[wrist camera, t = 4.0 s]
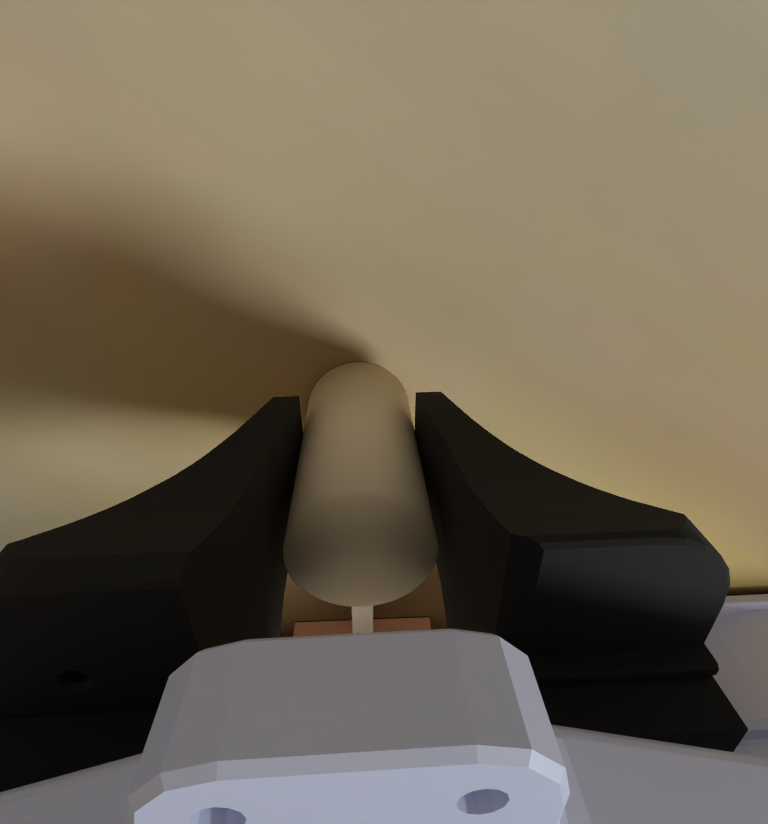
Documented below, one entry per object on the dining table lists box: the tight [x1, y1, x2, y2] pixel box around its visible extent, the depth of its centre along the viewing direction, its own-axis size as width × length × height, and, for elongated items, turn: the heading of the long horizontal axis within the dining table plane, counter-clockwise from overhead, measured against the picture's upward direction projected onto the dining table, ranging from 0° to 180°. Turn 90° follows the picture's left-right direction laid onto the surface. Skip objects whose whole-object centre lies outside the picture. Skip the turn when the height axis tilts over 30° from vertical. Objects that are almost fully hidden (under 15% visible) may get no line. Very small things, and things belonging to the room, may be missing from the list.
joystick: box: [283, 362, 438, 637], centre depth 14 cm, size 5×15×6 cm, turn 179°
